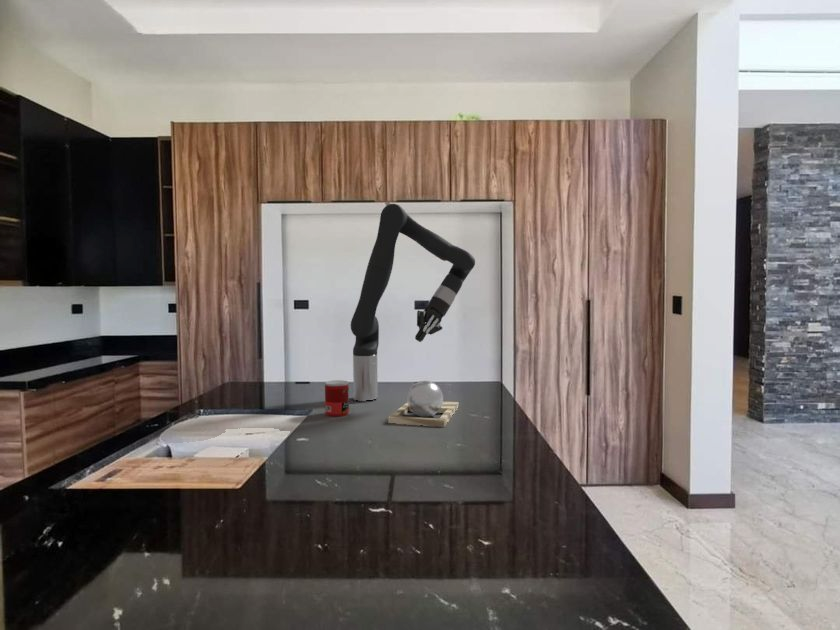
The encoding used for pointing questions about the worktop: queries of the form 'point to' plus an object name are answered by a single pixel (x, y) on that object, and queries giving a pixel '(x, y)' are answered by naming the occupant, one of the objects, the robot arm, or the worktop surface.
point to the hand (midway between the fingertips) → (417, 340)
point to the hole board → (446, 409)
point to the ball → (425, 398)
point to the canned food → (336, 398)
